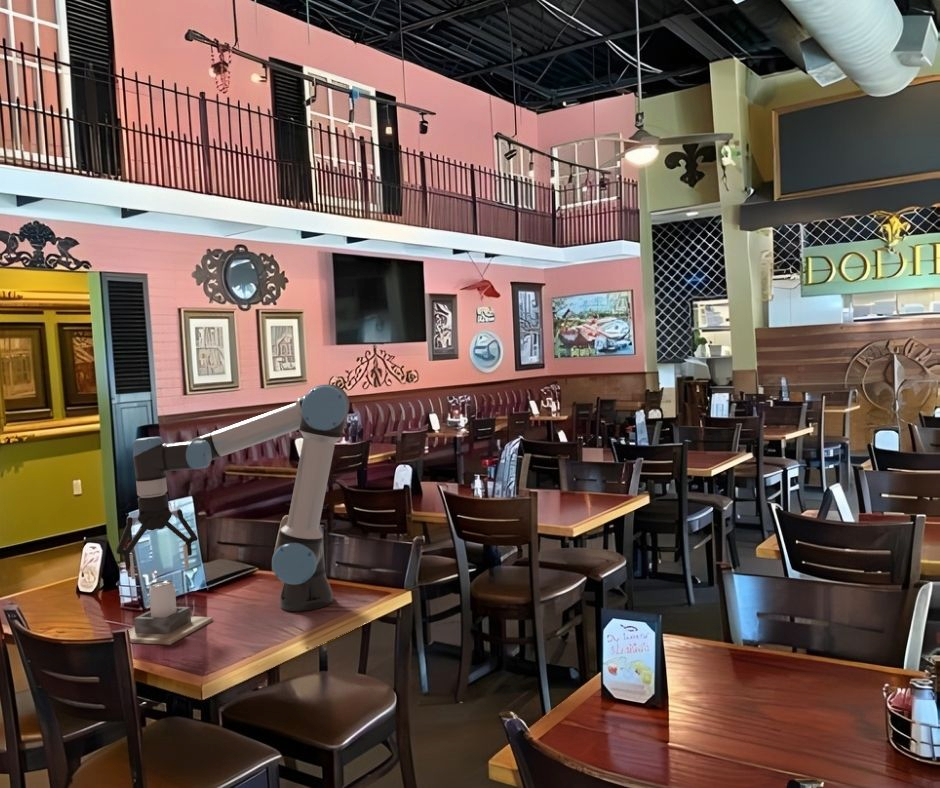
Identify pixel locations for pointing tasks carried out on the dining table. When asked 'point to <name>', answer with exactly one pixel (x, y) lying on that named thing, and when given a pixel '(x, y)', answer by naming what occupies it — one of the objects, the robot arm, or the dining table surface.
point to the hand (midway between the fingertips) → (160, 573)
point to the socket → (166, 627)
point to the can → (162, 599)
